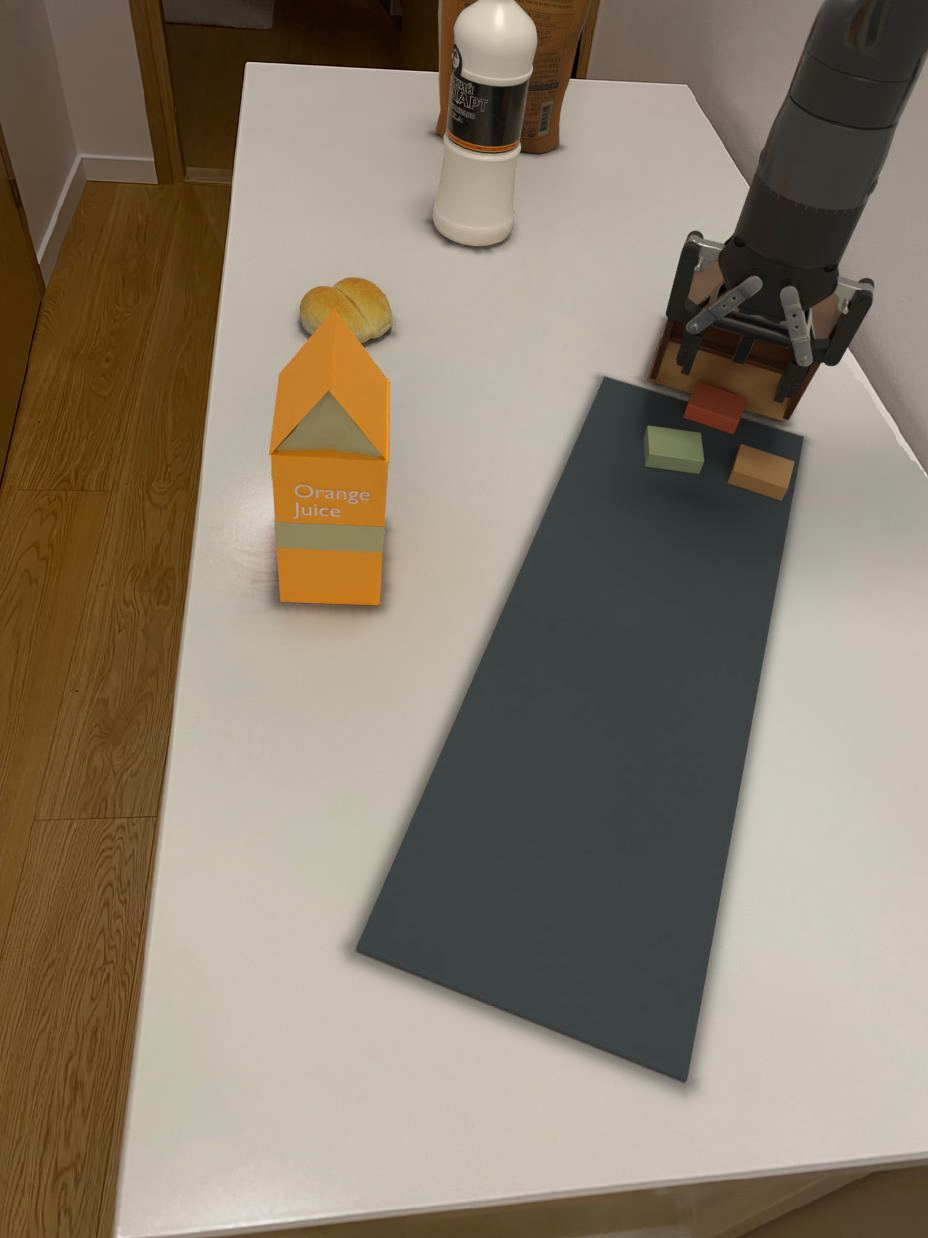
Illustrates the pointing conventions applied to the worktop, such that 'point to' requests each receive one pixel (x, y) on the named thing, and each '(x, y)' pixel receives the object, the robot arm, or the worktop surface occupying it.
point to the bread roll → (349, 307)
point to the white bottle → (484, 122)
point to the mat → (601, 747)
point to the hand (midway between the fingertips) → (732, 382)
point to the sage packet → (673, 449)
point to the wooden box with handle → (748, 334)
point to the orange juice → (330, 470)
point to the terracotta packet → (715, 408)
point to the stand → (723, 379)
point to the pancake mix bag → (559, 21)
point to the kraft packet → (761, 472)
